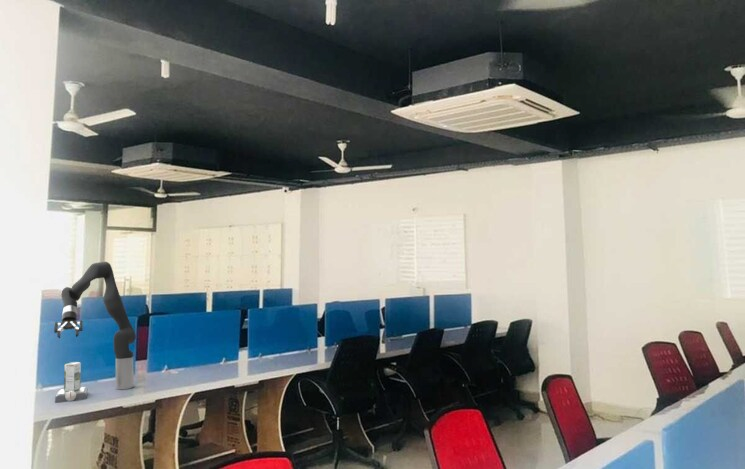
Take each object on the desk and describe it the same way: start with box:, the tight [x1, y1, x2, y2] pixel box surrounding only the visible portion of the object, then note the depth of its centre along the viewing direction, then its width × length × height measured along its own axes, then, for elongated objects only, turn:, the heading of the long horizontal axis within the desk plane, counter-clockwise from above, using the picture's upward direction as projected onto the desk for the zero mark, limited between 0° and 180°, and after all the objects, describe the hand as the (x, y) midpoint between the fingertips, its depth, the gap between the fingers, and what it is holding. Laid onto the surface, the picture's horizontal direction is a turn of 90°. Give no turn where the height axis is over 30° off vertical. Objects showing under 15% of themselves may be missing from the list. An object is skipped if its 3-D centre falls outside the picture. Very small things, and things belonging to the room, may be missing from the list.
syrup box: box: [63, 361, 82, 391], centre depth 288 cm, size 6×6×14 cm
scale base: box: [54, 387, 88, 403], centre depth 287 cm, size 15×14×5 cm
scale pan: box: [58, 386, 86, 396], centre depth 287 cm, size 12×12×1 cm
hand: (68, 336), depth 304 cm, fingers open, 8 cm apart
